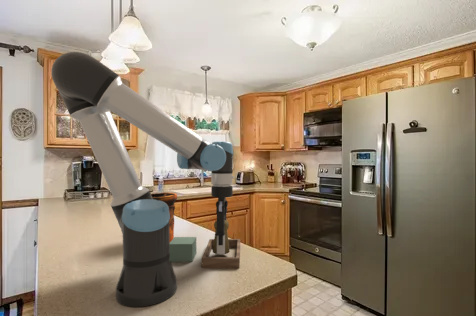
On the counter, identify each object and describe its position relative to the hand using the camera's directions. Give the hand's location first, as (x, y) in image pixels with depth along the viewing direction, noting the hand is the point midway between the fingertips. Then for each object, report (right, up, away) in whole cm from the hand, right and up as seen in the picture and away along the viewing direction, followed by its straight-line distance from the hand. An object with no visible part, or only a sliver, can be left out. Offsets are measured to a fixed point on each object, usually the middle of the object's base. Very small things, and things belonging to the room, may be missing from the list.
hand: (221, 250), depth 95 cm
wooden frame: (0, -2, 0) cm, 2 cm away
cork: (0, 0, 0) cm, 1 cm away
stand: (-14, -2, 0) cm, 14 cm away
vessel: (-27, -3, +18) cm, 32 cm away
